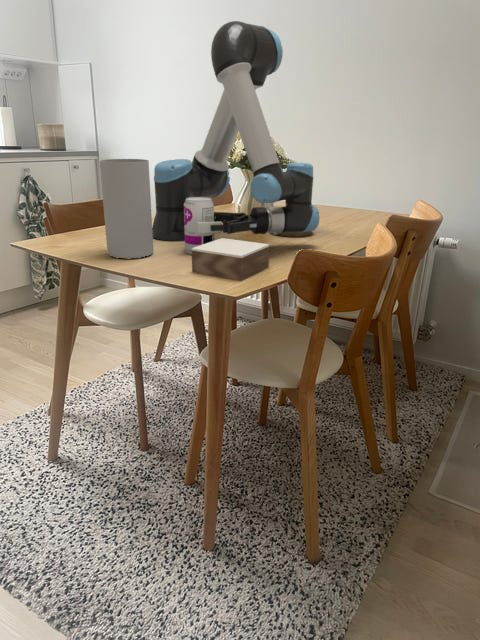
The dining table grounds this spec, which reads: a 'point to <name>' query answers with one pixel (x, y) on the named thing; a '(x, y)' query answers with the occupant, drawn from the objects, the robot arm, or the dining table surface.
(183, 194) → the robot arm
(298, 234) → the plant saucer
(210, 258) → the block
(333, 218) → the dining table surface
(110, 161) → the cylinder vase
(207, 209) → the supplement can
